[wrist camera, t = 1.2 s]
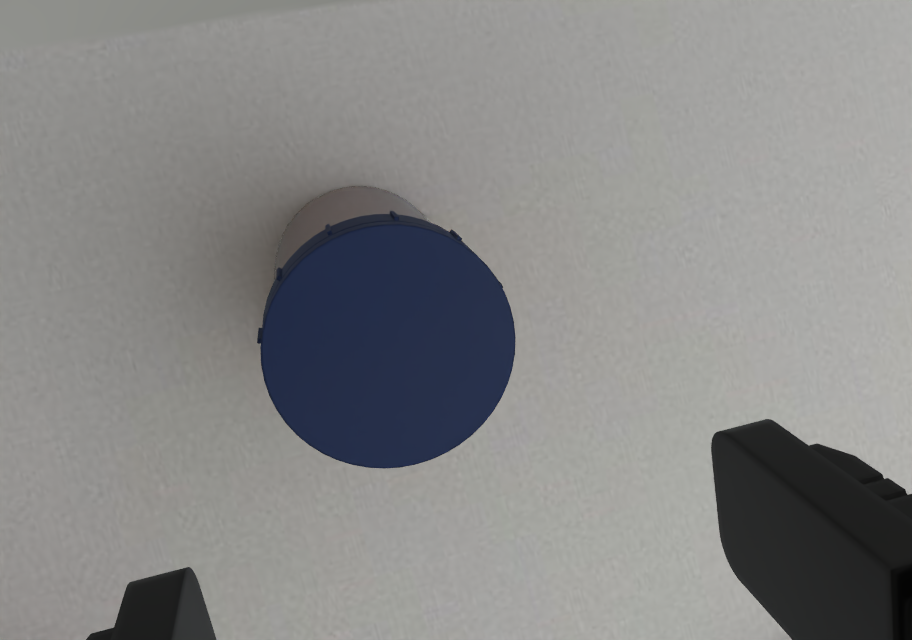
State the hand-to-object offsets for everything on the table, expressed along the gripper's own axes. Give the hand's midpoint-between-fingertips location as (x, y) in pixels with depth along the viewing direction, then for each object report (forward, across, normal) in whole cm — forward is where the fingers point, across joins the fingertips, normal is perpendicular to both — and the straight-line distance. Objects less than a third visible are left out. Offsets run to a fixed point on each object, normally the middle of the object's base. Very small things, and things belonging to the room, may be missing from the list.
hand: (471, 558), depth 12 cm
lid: (+10, 0, 0) cm, 10 cm away
